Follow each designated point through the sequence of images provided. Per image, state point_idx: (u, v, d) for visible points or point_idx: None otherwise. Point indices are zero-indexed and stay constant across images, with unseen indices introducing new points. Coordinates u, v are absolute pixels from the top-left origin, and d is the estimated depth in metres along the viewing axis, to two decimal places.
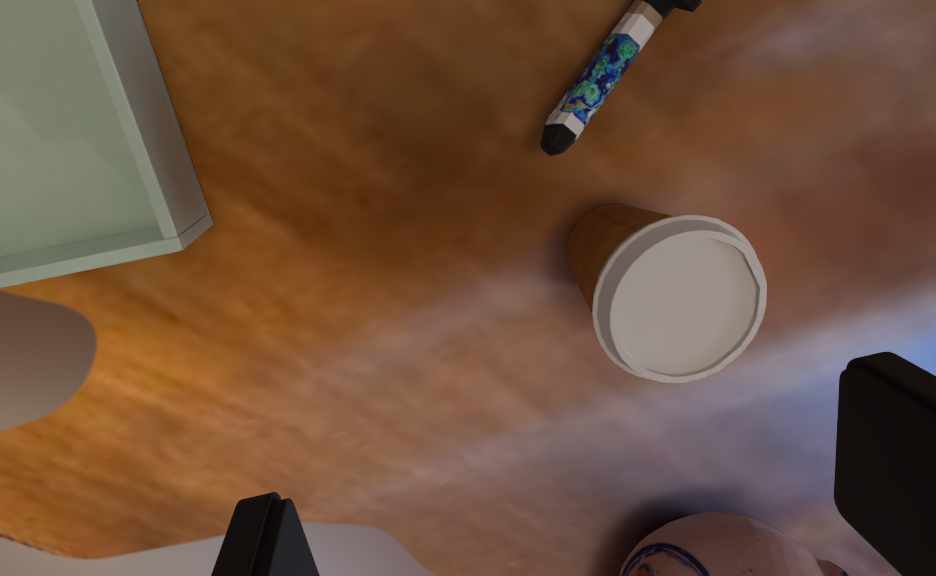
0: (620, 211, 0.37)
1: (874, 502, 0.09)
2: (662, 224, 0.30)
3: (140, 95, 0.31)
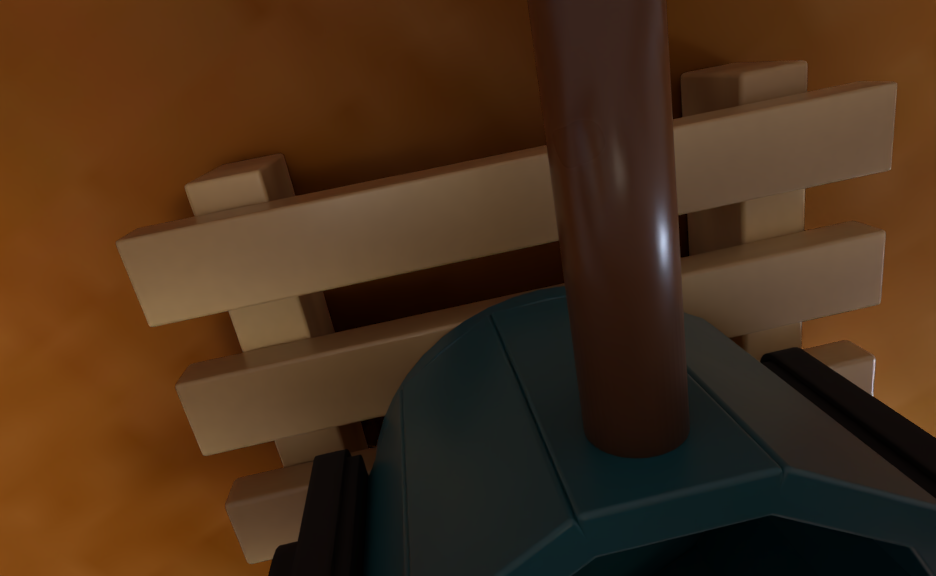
0: None
1: None
2: None
3: None
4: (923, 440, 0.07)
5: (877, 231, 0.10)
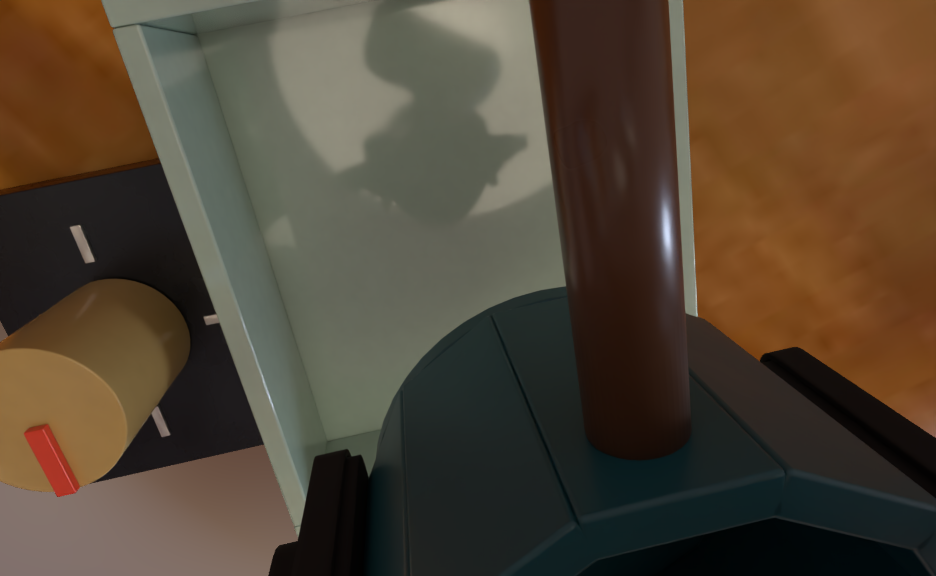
0: None
1: None
2: None
3: None
4: (923, 440, 0.07)
5: None
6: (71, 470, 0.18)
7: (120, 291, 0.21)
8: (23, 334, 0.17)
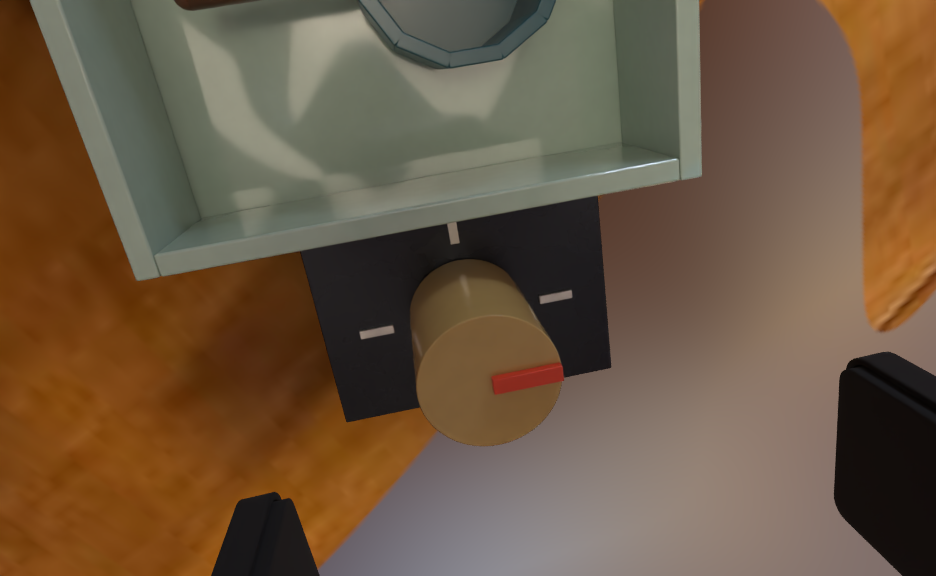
0: None
1: (874, 502, 0.09)
2: None
3: None
4: None
5: None
6: (540, 366, 0.19)
7: (413, 308, 0.23)
8: None
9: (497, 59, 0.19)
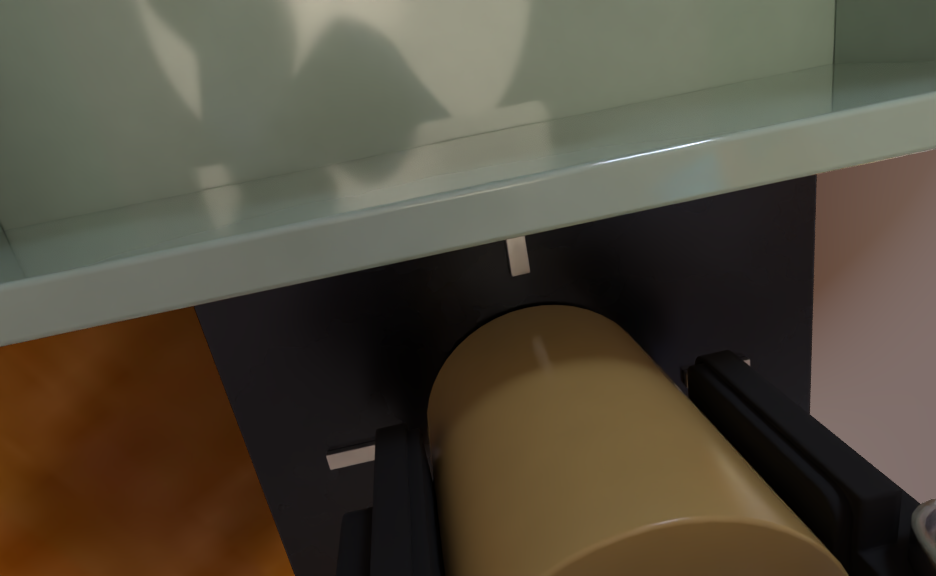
0: None
1: None
2: None
3: None
4: (826, 440, 0.08)
5: None
6: None
7: (436, 417, 0.11)
8: None
9: None
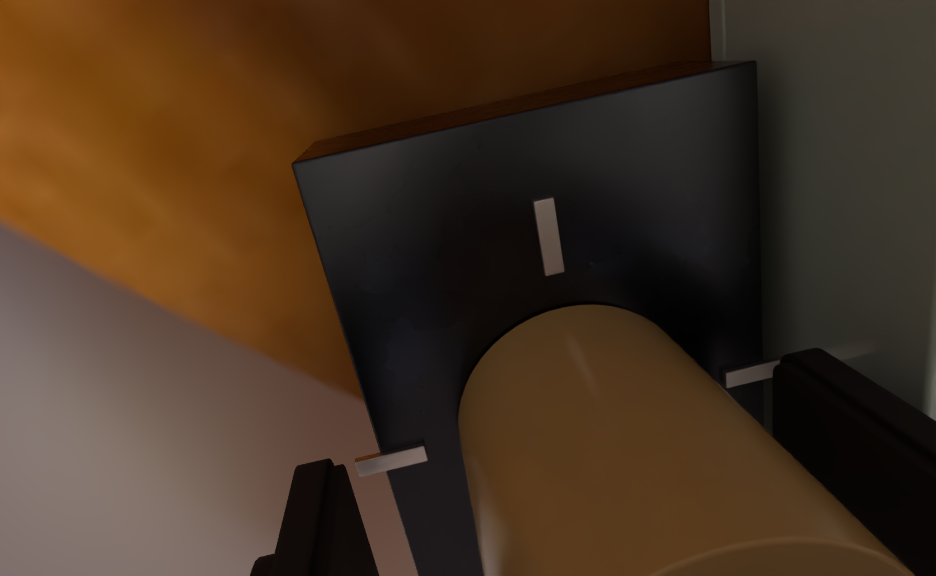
0: None
1: None
2: None
3: None
4: None
5: None
6: None
7: (472, 419, 0.10)
8: None
9: None
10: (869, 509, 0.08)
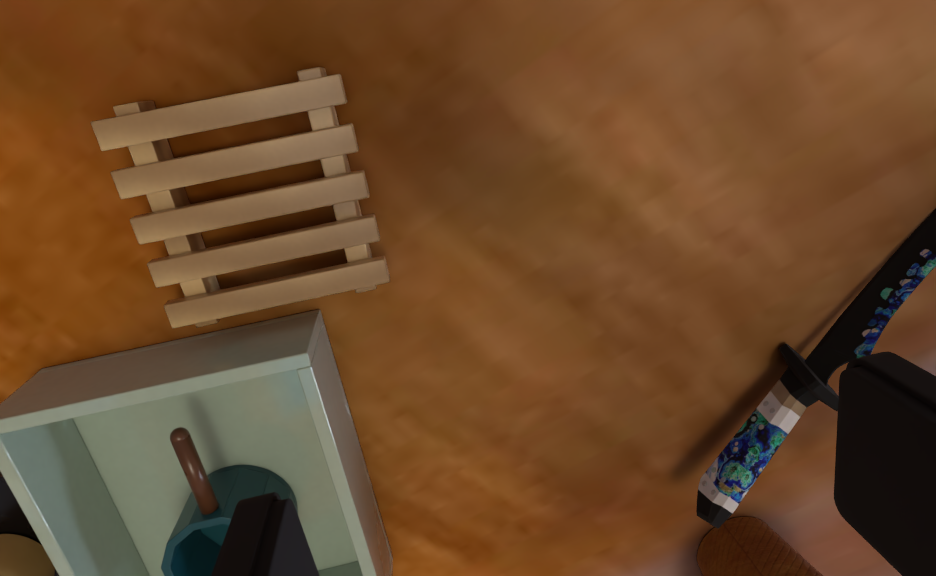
0: (758, 549, 0.42)
1: (874, 502, 0.09)
2: None
3: (362, 507, 0.36)
4: None
5: (348, 124, 0.30)
6: None
7: None
8: None
9: None
10: None
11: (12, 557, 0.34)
